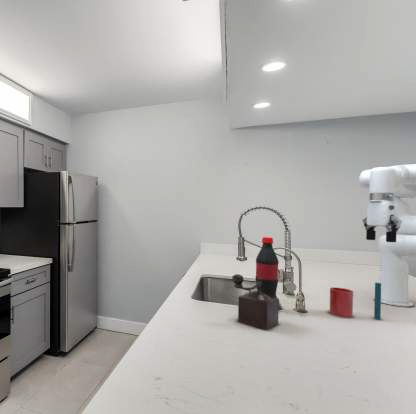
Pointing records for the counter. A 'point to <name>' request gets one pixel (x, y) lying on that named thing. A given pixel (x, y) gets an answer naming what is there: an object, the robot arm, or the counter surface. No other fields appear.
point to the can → (341, 302)
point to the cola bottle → (267, 268)
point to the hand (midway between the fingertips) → (380, 240)
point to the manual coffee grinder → (256, 306)
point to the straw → (377, 301)
